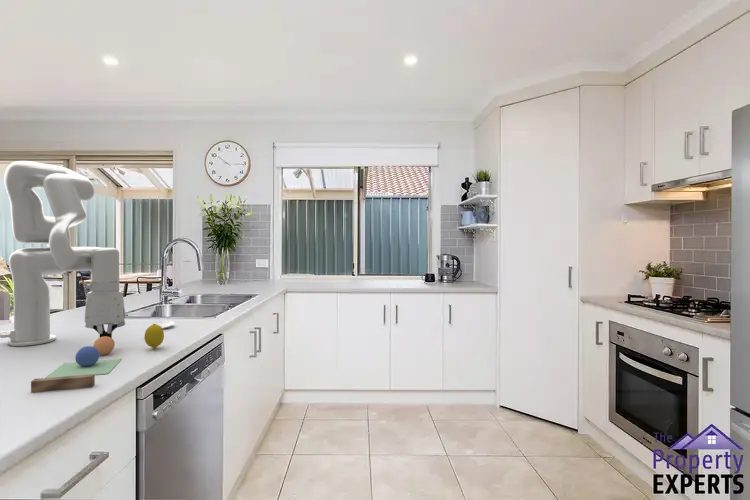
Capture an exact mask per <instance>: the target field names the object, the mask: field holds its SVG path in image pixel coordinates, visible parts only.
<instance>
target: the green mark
mask: <svg viewBox="0 0 750 500" xmlns="http://www.w3.org/2000/svg"><path fill="white" fill-rule="evenodd" d="M121 361H122V358H118V359H117V358H115V359H103V360H102V359H101V360H100V359H98V361H97V362H96V363H95V364H94V365H92V366H88V367H83V366H80V365H79V364H78V363H77V362H76V361H71V362H64V363H62V364H61V365H59V366H58V367H57V368H56V369H55V370H53V371H51V372H50V373H49V374H47V375H46V376H45V377H44V378H51V377H64V376H77V375H89V374H95V376H101V375H109V374H110V373H111V372H112V371H113V370H114V369H115V367H116V366H117V365H118V364H119V363H120V362H121Z"/></svg>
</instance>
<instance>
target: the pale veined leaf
mask: <svg viewBox="0 0 750 500" xmlns="http://www.w3.org/2000/svg"><path fill="white" fill-rule="evenodd" d="M155 324H156V325H159V326H160V327H161V328H162V329H163V330H165V329H169V328H171V327H173V326H174V325H175V322H174V321H172V320H169V321H168V320H167V319H166V318H163V320H162V321H159V322H158V323H155Z"/></svg>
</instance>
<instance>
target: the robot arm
mask: <svg viewBox="0 0 750 500" xmlns="http://www.w3.org/2000/svg"><path fill="white" fill-rule="evenodd" d="M3 175H4V177H3V182H4V183H3V184H4V188H5V191H6V194H7V196H8V200H9V204H10V216H11V219H10V220H11V226H12V227H11V228H12V229H11V230H12V234H13V235H12V236H13V238H14V240H15V241H16V242H19V243H20V244H26V245H27V244H30V245H34V244H36V245H37V244H40V245H43V244H45V245H46V246H47V247H25V248H24V247H23V248H20V249H16V250H15V251H13V252H12V253H11V254H10V255H9V259H8V265H9V270H10V274H11V279H12V288H13V289H12V290H13V291H12V292H13V294H12V295H13V329H12V330H3V331H0V338H3V339H5V338H9V339H8V340H7V345H8V346H11V347H25V346H26V347H27V346H35V345H41V344H47V343H51V342H53V341H55V340H56V339H57V336H56V335H55V334H51V302H50V301H51V300H50V299H51V291H50V286H49V284H48V282H47V281H46V280H45V278H44V276H55V275H62V274H65V273H67V272H81V271H85V272H87V271H90V279H91V280H90V283H86V284H85V289H89V291H88V292H87V294H86V295H87V296H86V300H85V310H84V323H85V325H84V327H85V328H86V329H93V330H95V331H96V332H97V333H98V334H99V338H100V337H103V336H108V337H111V338H112V339H113V332H114V331H115V330H116V329H117V328H121V327H124V326H125V325H126V321H125V318H126V317H125V316H126V315H125V314H126V309H125V301H124V295H123V291H122V290H120V251H119V249H117V248H115V247H100V246H72V245H71V243H72V241H71V232H70V228H72V227H75V226H77V225H79V224H82V223H83V222H84V221H85V220H86V219H87V217H88V214H87V212H86V209H85V206H84V204H83V202H88V201H90V200H92V199H93V198H94V194H95V188H94V185H93V183H92V181H91V180H90V179H89V178H88V177H87V176H84V175H82V174H80V173H78V172H77V171H74V170H72V169H69V168H67V167H65V166H61V165H59V166H58V165H54V164H50V163H49V164H48V163H43V162H42V163H41V162H38V161H29V160H18V161H13V162H11V163H10V164H9V165H8V166H7V167H6V170H5V171H4V174H3ZM34 189H42V190H43V191H44V193H45V197H46V199H47V201H48V204H49V207H50V209H51V212H52V214H53V216H46V215H45V212H44V203H43V201H42V199H41V198H40V196H39V195H38V193H37V192H36V191H35V190H34ZM105 325H107V329H105Z"/></svg>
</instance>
